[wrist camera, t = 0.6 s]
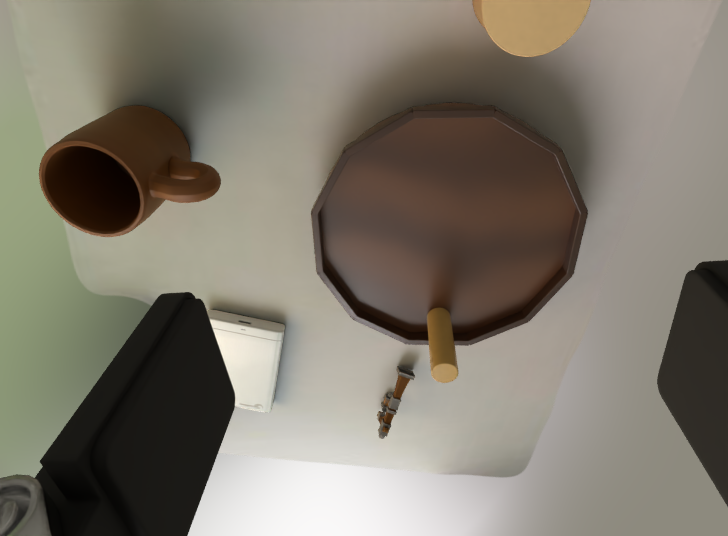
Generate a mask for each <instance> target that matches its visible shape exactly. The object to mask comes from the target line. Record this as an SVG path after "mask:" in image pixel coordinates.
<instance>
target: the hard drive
mask: <svg viewBox="0 0 728 536" xmlns="http://www.w3.org/2000/svg"><path fill="white" fill-rule="evenodd" d="M207 314H208V316H209V319H210V322H211V325H212V328H213V331H214V334H215V337H216V340H217V342H218V345H219V348H220V351H221V354H222V357H223V360H224V363H225V366H226V368H227V371H228V374H229V377H230V380H231V383H232V386H233V389H234V392H235V407H239V408H245V409H250V410H255V411H260V412H271V409H272V406H273V400H274V394H275V388H276V382H277V375H278V369H279V363H280V356H281V349H282V343H283V336H284V330H285V325H283V324H280V323H276V322H271V321H266V320H261V319H256V318H251V317H246V316H241V315H236V314H232V313H227V312H222V311H217V310H208V311H207Z"/></svg>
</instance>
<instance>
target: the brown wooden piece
mask: <svg viewBox="0 0 728 536" xmlns="http://www.w3.org/2000/svg"><path fill="white" fill-rule="evenodd" d="M397 372H398V374H399V375H398V380H397V384H396V388H395V391H394V394H392V393H388V395H385V399H384V402H381V404H382V407H383V408H382V411H383V412H380V411H379V412H378V414H377V417H378V421H379V422H380V427H379V429H378V432H379V438H381V439H383V438H384V437H385V436H387V434H388V432H389V429H390V427H391V421H392V419H393V416H394V415H396V413H397V412H396V410H398V406H399V404H400V402H401V399H400V398H401V396H402V394H403V392H404V390H405V388H406V386H407V384H408V382H409V381H410V379H412V380H414V378H415V375H414V373H413V371H411V370H408V369H405V368H402V367H399V366H397ZM385 412H386V415H385Z"/></svg>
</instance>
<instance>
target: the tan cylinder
mask: <svg viewBox="0 0 728 536" xmlns="http://www.w3.org/2000/svg"><path fill="white" fill-rule="evenodd" d="M590 2H591V0H473V7H474V11H475V14H476V17H477V18H478V20H479V22H480V23H481V25H482V26H483V27H484V28H485V29H486V30H487V32H488V34H489V36H490V37H491V39H492V40H493V41H494V42H495V43H496V44H497V45H498V46H499V47H500V48H502V49H503V50H504V51H506V52H508V53H510V54H513V55H516V56H522V57H533V56H539V55H543V54H546V53H548V52H551V51H553V50H555V49H556V48H558V47H559V46H561V45H562V44H564V43H565V42H566V41H567V40H568V39H569V38H570V37H571V36H572V35H573V34H574V33H575V32H576V30H577V29H578V28H579V26H580V25H581V23H582V22H583V20H584V18H585V16H586V14H587V11H588V9H589V6H590Z"/></svg>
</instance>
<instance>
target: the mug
mask: <svg viewBox="0 0 728 536" xmlns="http://www.w3.org/2000/svg"><path fill="white" fill-rule="evenodd" d="M39 179H40V184H41V188H42V191H43V193H44V196H45V197H46V199H47V201H48V202H49V204H50V205H51V207H52V208H53V209H54V210H55V212H56V213H57V214H58V215H59V216H60V217H61V218H63V219H64V220H65V221H66V222H68V223H69V224H70V225H72V226H73V227H75V228H77V229H79V230H81V231H83V232H86V233H89V234H92V235H96V236H102V237H114V236H120V235H124V234H126V233H129V232H130V231H132V230H133V229H135V228H136V227H137V226H138V225H140V224H141V223H142V222H144V221H145V220H146V219H147V218H148V217H149V216H150V215H151V214H152V213H153V212H154V211H155V210H156V209H157V208H158V207H159V206H160V205H161V204H162V203H163V202H164V201H165V200H170V201H173V202H179V203H190V202H199V201H202V200H206V199H208V198H209V197H211V196H213V195H214V194H215V193H216V192H217V191H218V189H219V187H220V184H221V179H220V176H219V173H218V172H217V171H216V170H215V169H214V168H213V167H211V166H209V165H206V164H204V163H200V162H192V161H190V150H189V146H188V143H187V140H186V138H185V136H184V134H183V133H182V131H181V130H180V129H179V127H178V126H177V125H176V124H175V123H174V122H173V121H172V120H171V119H170V118H169V117H167V116H166V115H164V114H163V113H161V112H159V111H157V110H155V109H152V108H150V107H146V106H139V105H136V106H126V107H122V108H119V109H116V110H114V111H112V112H111V113H109V114H107V115H105V116H103V117H101V118H99V119H97V120H95V121H93V122H91V123H89V124H87V125H85V126H83V127H81V128H80V129H78V130H76V131H74V132H72V133H70V134H68V135H67V136H65V137H64V138H63V139H61V140H60V141H59V142H57V143H56V144H54V145H53V146H52V147H50V148H49V149H48V150H47V152H46V153H45V154H44V156H43V158H42V160H41V163H40V169H39Z"/></svg>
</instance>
